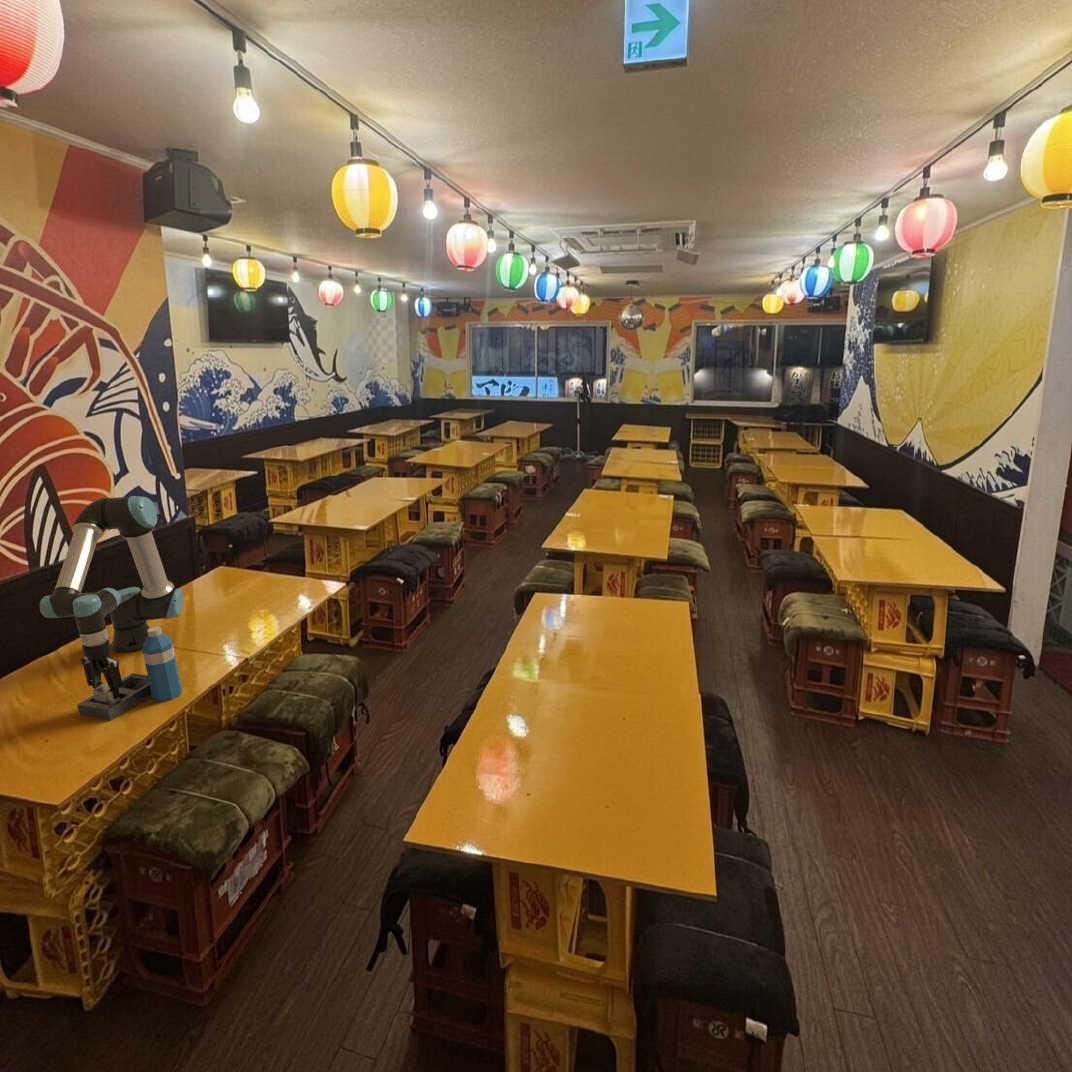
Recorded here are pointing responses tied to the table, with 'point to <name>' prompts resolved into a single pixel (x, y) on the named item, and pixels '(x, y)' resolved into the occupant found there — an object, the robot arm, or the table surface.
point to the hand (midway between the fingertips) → (110, 705)
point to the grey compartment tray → (126, 702)
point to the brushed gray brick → (102, 695)
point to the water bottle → (161, 666)
